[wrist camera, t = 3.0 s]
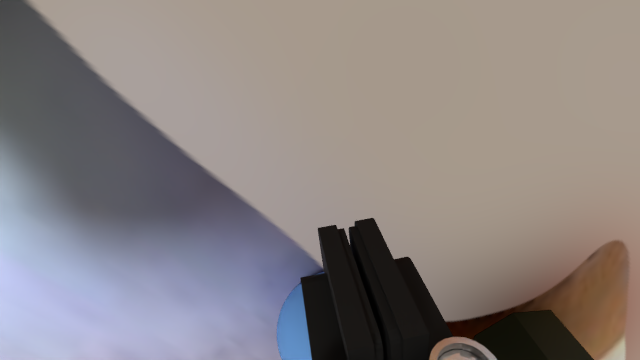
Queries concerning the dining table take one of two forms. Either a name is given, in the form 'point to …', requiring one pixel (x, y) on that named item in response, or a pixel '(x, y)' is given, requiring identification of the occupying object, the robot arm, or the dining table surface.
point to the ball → (293, 328)
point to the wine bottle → (531, 338)
